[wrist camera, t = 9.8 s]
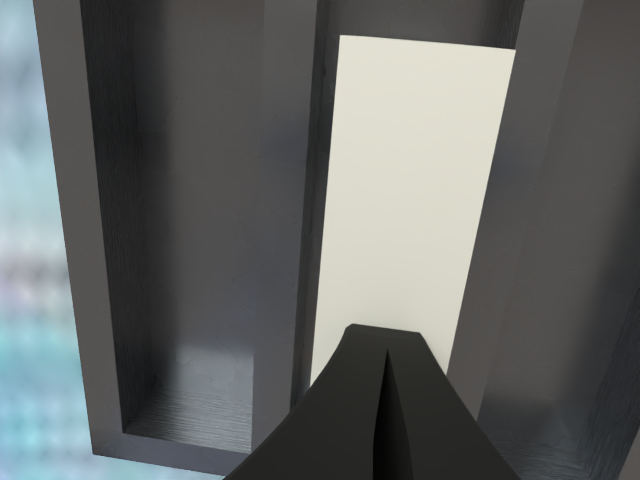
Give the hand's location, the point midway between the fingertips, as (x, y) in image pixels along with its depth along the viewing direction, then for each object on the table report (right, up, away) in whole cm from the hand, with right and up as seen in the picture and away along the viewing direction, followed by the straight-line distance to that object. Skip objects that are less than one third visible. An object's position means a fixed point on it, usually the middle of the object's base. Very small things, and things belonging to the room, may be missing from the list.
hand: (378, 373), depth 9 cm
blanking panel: (+1, +2, +7) cm, 7 cm away
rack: (+1, +3, +8) cm, 8 cm away
